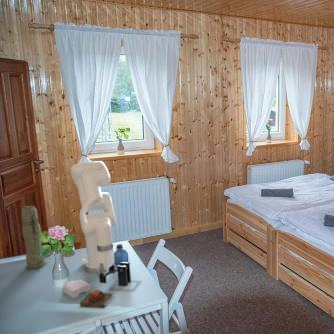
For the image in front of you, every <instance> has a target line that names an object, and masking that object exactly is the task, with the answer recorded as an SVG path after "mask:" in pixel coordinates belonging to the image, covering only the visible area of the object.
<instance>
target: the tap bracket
mask: <svg viewBox="0 0 334 334" xmlns="http://www.w3.org/2000/svg"><path fill="white" fill-rule="evenodd" d="M124 264H126V265H127V267H128V268H127V269H126V266H119V265H116V269H117V272H116V273H117V281H118V283H117V284H118V287H128V283H131V282H132V278H131V277H132V276H131V263H130V261H129V262H121V265H124Z"/></svg>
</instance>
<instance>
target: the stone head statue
mask: <svg viewBox="0 0 334 334" xmlns="http://www.w3.org/2000/svg"><path fill="white" fill-rule="evenodd" d="M20 215H21V221H22V228H21V230H22V237H23V240H24V245H25V252H26V254H25V260H26V264H27V269H29V270H35V269H39V268H41V267H44V266H45V264H46V263H45V257H44V258H43V257H42V256H41V255H40V249H41V247H42V248H43V244H42V240H41V241H40V240H39V235H40V234H41V235H42V230H41V225H40V223H39V217H38V216H39V215H38V209H37V208H36V206H35V205H31V204H30V205H25V206H23V207H22V209H21V214H20Z"/></svg>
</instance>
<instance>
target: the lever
mask: <svg viewBox="0 0 334 334" xmlns="http://www.w3.org/2000/svg"><path fill="white" fill-rule="evenodd" d="M121 266H126V269H127V268H128V267H127V265H126V264H124V265H121ZM114 272H115V273H118V272H117V268H115V270H113V271H109V270H107V271H106V273H105V275H106V277H107V276H109V275H112V274H115V273H114Z"/></svg>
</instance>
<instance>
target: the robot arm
mask: <svg viewBox="0 0 334 334" xmlns="http://www.w3.org/2000/svg"><path fill="white" fill-rule="evenodd" d="M70 175H71V178H72V180H73V183H74V184H75V186H76V188H77V190H78V195H79V200H80V205H81V208H80V211H79V222H80V227H81V231H82V233H83V234H84V239H85V248H86V249H85V250H86V258H87V259H85V258H82V259H81V265H85V267H86V268H88V269H90V270H96V274H97V275H98V279H99V283H100V284H106V283H107V276H106V275H105V274H106V273H107V272H108V271H113V270H115V269H116V265H115V263H114V262H115V255H114V253H115V251H114V243H113V227H115V226H116V224H117V218H116V217H117V216H116V213H115V212H116V211H115V208H114V203H113V199H112V196H111V194H110V193H109V192H105V191H103V192H102V188H101V186H107V185H109V184H110V183H111V174H110V170H108V168H107V166H106V164H105V162H103V161H102V160H95V161H86V162H78V163H75V164H73V165H71V167H70ZM101 210H102V211H101ZM96 211H97V212H96ZM88 212H92V213H88ZM87 213H88V214H87ZM115 273H116V272H114V273H113V274H115Z"/></svg>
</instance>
